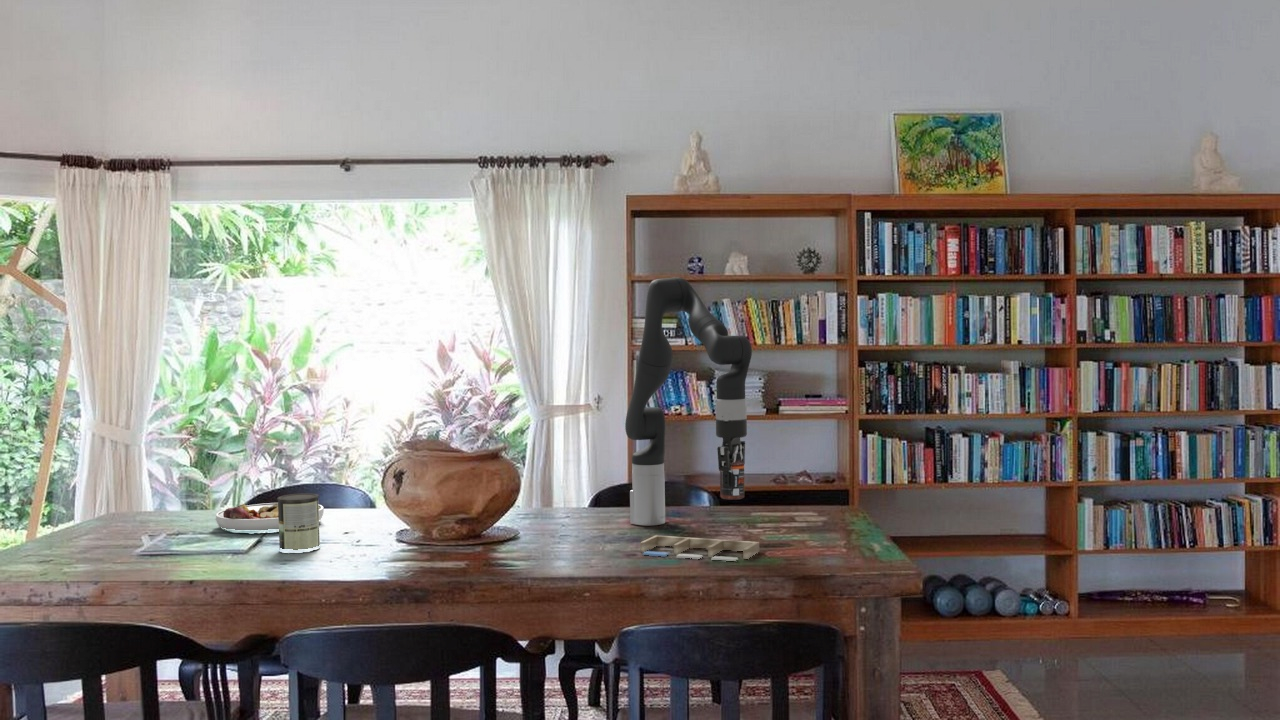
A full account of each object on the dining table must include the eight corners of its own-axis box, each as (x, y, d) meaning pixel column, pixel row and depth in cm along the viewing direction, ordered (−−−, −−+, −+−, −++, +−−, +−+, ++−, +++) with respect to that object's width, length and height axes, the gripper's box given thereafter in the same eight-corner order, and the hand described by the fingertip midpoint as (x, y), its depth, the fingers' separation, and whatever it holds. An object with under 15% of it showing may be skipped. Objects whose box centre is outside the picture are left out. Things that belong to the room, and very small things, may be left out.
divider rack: (640, 552, 271) (640, 542, 271) (655, 545, 280) (655, 535, 280) (747, 559, 259) (747, 549, 259) (759, 552, 268) (759, 542, 268)
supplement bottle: (743, 500, 262) (742, 453, 261) (718, 500, 263) (718, 453, 263) (745, 496, 268) (745, 450, 267) (721, 496, 269) (721, 450, 268)
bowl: (270, 515, 339) (269, 490, 339) (345, 521, 326) (344, 495, 326) (193, 533, 312) (192, 505, 312) (271, 540, 299) (270, 511, 299)
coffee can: (270, 552, 281) (268, 497, 281) (301, 544, 290) (299, 492, 289) (298, 555, 276) (296, 500, 275) (328, 548, 285) (327, 494, 284)
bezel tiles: (642, 555, 267) (642, 552, 267) (646, 553, 269) (646, 551, 269) (734, 562, 257) (734, 559, 257) (738, 560, 260) (738, 557, 260)
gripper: (726, 414, 273) (727, 481, 273) (706, 419, 260) (707, 489, 260) (755, 415, 270) (756, 482, 270) (736, 420, 257) (737, 491, 257)
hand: (732, 485), depth 265 cm, fingers closed on supplement bottle, 6 cm apart
